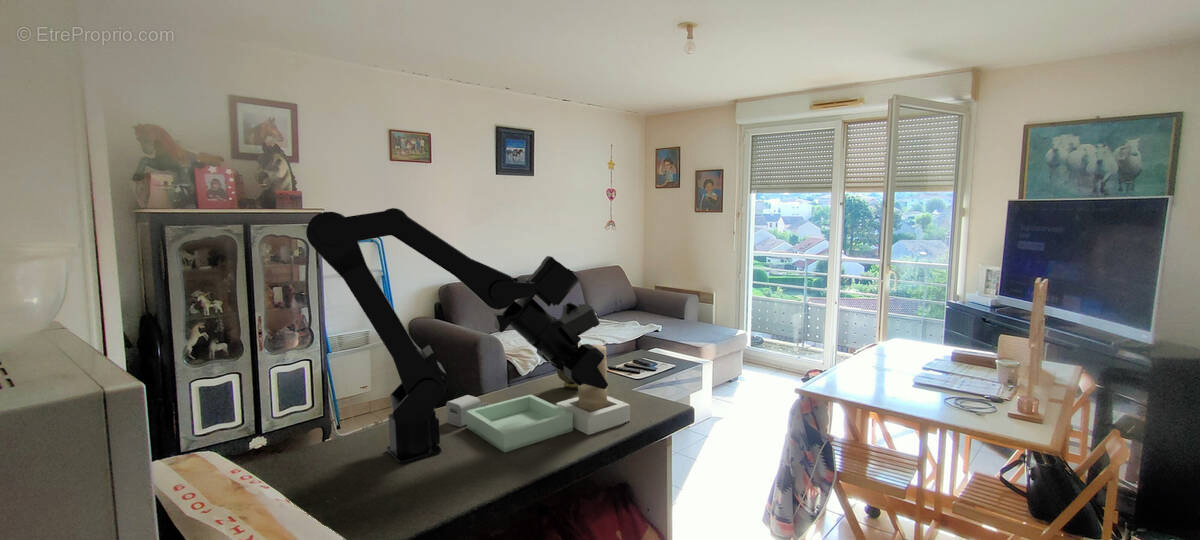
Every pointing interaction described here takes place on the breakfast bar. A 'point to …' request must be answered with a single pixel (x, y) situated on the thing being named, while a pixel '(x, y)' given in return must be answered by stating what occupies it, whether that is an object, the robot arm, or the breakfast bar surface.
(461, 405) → the usb wall charger
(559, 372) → the cup
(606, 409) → the white square frame
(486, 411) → the pale green tray
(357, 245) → the robot arm
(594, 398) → the beech dowel
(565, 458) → the breakfast bar surface
